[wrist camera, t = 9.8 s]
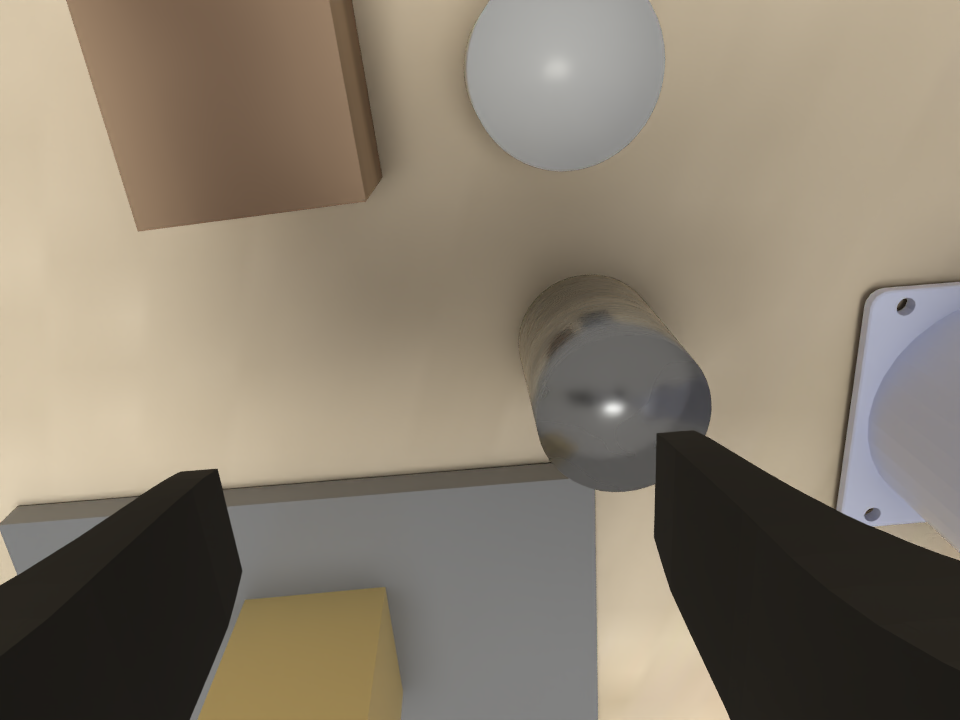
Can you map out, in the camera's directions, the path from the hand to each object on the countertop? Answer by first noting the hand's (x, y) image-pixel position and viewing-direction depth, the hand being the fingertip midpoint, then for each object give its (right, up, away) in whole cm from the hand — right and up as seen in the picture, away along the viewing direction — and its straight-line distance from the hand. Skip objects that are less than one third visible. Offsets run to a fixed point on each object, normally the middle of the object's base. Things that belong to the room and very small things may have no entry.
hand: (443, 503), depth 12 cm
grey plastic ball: (+2, +10, +6) cm, 12 cm away
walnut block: (-5, +9, +6) cm, 12 cm away
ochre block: (-4, -7, +12) cm, 14 cm away
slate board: (-5, -7, +13) cm, 15 cm away
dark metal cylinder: (+4, +3, +9) cm, 10 cm away
